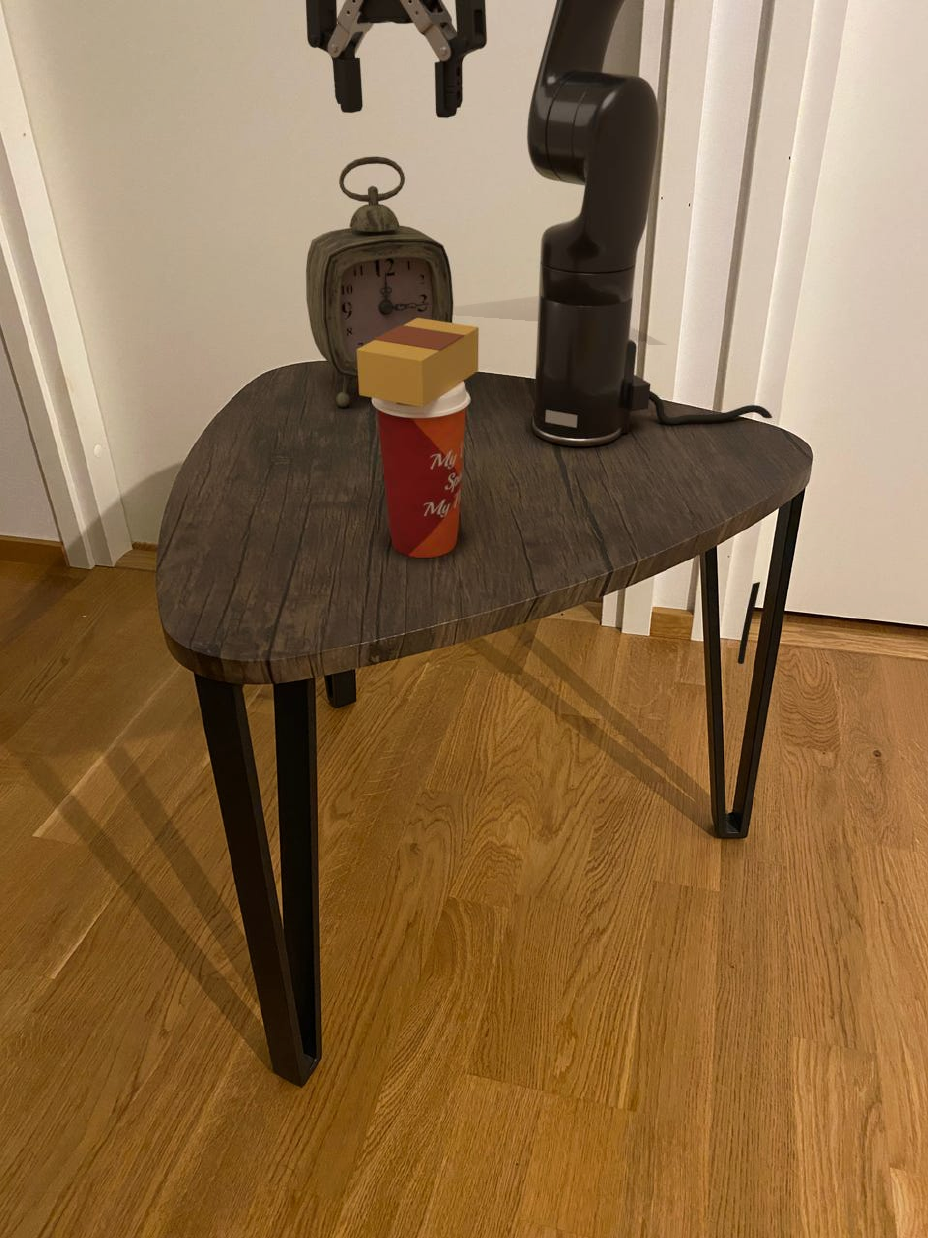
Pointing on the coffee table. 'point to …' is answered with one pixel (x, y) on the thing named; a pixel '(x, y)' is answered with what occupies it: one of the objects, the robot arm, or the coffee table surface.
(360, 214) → the tabletop clock
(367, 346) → the tea packet
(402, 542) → the paper cup
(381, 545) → the coffee table surface
